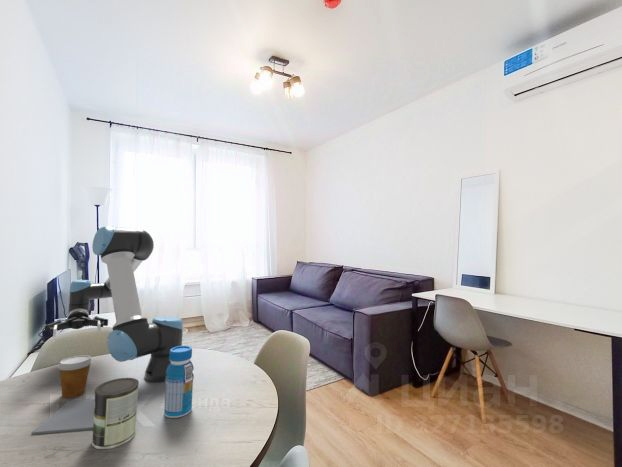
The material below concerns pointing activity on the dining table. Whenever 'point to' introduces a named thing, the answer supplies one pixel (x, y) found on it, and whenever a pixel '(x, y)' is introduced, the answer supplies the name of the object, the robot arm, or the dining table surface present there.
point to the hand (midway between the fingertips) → (77, 330)
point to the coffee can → (115, 413)
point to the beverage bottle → (179, 382)
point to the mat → (70, 418)
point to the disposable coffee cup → (74, 375)
